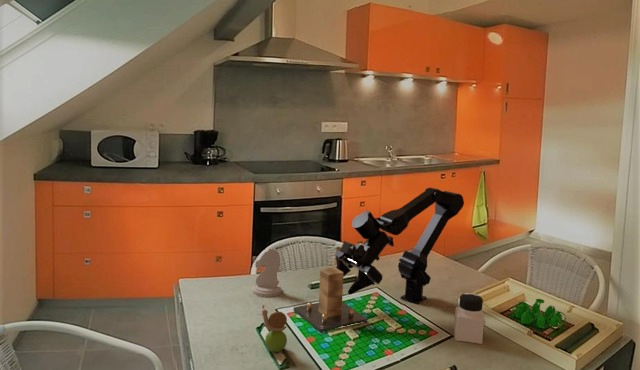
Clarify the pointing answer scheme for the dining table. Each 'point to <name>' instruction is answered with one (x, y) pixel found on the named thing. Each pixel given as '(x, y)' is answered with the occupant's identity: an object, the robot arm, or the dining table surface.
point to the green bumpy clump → (549, 313)
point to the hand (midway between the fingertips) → (340, 288)
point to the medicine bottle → (469, 319)
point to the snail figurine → (275, 330)
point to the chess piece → (268, 275)
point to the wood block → (331, 292)
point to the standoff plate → (324, 323)
